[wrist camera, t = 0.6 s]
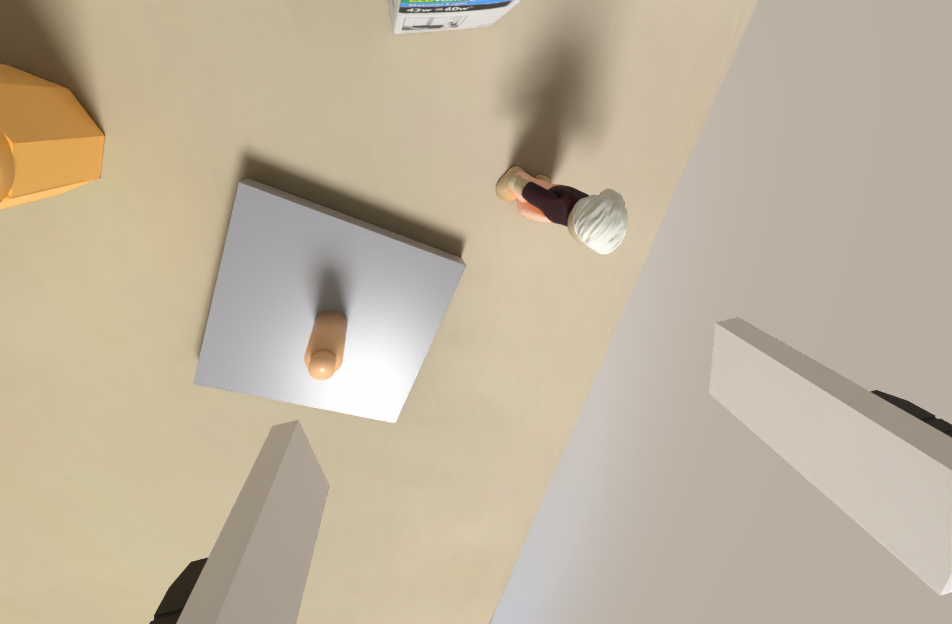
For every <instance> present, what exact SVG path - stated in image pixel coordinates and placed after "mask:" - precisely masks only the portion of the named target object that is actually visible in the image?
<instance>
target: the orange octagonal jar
mask: <svg viewBox="0 0 952 624" xmlns="http://www.w3.org/2000/svg"><path fill="white" fill-rule="evenodd" d="M104 139H105V135H104V134H103V133H102V131H101V130H100V129H99V128H98V126H97V125H96V124H95V122H94V121H93V120H92V119H91V117H90V116H89V115H88V113H87V112H86V111H85V109H84V108H83V107H82V106H81V104H80V103H79V102H78V100H77V99H76V98H75V97H74V95H73V94H72V93H71V91H70V90H69V89H68V88H65V87H63V86H60V85H58V84H55V83H53V82H50V81H47V80H45V79H42V78H40V77H37V76H35V75H32V74H30V73H27V72H24V71H22V70H19V69H17V68H14V67H12V66H9V65H6V64H0V210H2V209H5V208H9V207H13V206H17V205H21V204H25V203H29V202H33V201H37V200H41V199H45V198H49V197H53V196H56V195H60V194H62V193H64V192H67V191H69V190H72V189H74V188H77V187H79V186H81V185H84V184H86V183H89V182H91V181H94V180H96V179H98V178H101V177H100V175H101V166H102V157H103V148H104Z"/></svg>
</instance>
